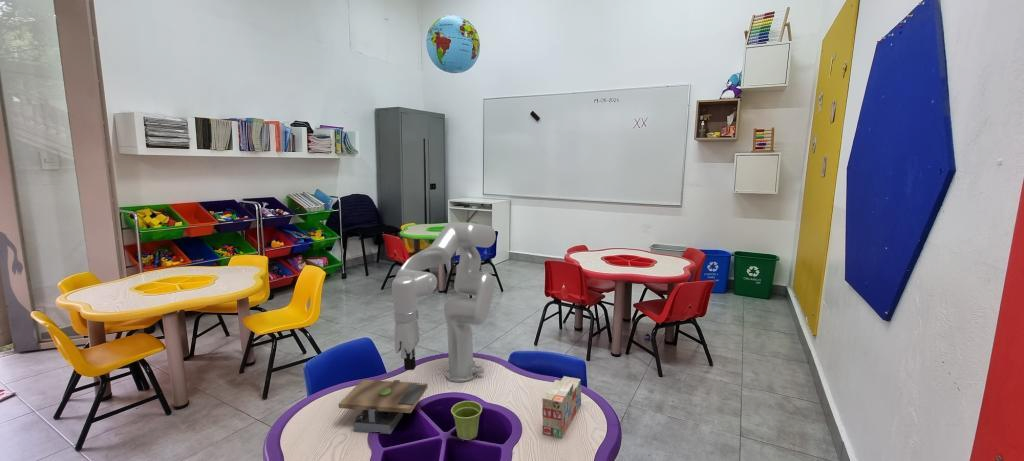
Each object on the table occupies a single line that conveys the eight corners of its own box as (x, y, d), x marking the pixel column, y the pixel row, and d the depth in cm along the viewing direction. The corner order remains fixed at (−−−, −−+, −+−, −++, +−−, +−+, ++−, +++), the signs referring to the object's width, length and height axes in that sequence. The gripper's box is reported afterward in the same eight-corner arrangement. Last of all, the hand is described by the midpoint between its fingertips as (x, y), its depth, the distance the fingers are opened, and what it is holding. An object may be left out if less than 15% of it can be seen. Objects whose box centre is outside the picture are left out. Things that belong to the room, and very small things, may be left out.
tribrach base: (414, 398, 159) (413, 380, 158) (390, 434, 139) (388, 413, 138) (382, 396, 161) (381, 378, 160) (354, 431, 140) (352, 410, 139)
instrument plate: (427, 390, 155) (427, 380, 154) (410, 416, 139) (410, 405, 139) (362, 386, 159) (362, 377, 158) (339, 411, 143) (338, 400, 142)
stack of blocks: (563, 400, 156) (563, 367, 154) (581, 404, 154) (581, 370, 152) (542, 434, 137) (542, 397, 135) (561, 439, 135) (561, 401, 133)
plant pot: (484, 426, 142) (483, 400, 141) (481, 444, 133) (480, 417, 131) (454, 426, 142) (453, 400, 141) (449, 444, 133) (448, 417, 132)
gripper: (404, 307, 151) (407, 357, 154) (385, 324, 136) (390, 379, 140) (425, 307, 150) (428, 358, 153) (408, 324, 135) (412, 380, 139)
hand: (410, 368), depth 146 cm, fingers closed
